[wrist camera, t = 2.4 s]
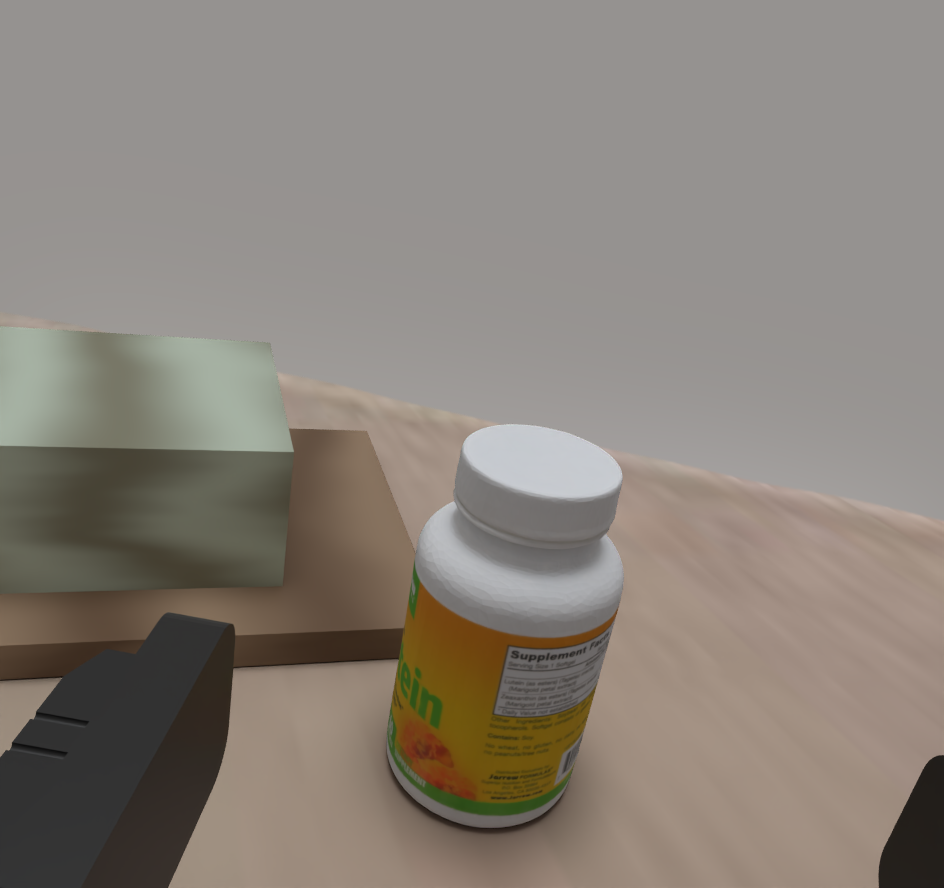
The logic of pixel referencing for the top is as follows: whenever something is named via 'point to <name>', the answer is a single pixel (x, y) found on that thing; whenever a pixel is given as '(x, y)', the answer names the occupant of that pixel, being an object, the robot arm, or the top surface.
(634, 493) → the top surface
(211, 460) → the pedestal
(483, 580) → the supplement bottle
